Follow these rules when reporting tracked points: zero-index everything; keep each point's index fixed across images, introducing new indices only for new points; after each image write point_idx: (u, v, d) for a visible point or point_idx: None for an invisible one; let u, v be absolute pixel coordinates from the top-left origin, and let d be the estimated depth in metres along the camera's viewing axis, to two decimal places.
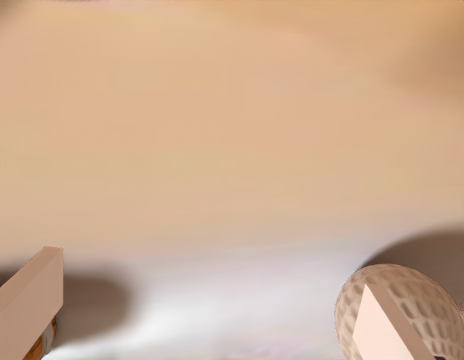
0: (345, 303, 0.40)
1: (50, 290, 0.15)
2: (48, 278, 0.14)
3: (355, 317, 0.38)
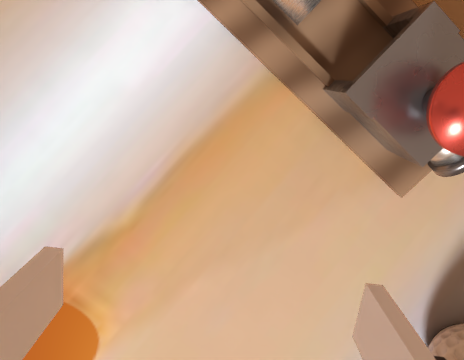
0: None
1: (50, 290, 0.15)
2: (48, 278, 0.14)
3: None
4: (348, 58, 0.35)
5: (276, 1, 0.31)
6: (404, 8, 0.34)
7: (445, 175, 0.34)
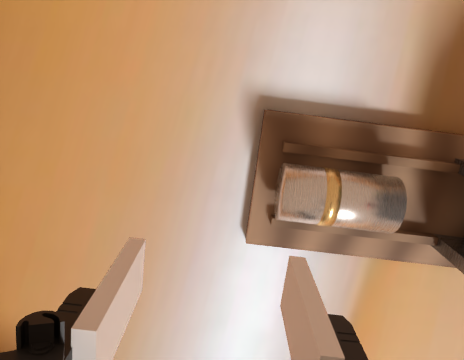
0: None
1: (138, 276, 0.17)
2: (138, 265, 0.16)
3: None
4: (437, 210, 0.36)
5: None
6: (462, 145, 0.34)
7: None
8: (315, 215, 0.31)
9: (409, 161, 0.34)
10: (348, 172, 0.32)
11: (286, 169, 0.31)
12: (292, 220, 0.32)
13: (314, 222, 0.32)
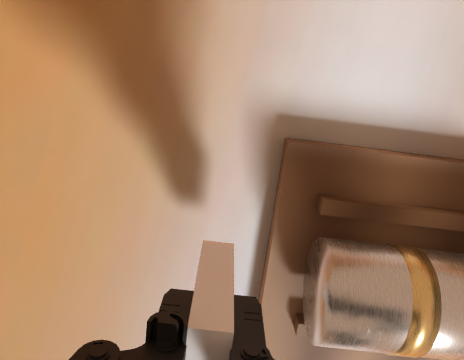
0: None
1: None
2: None
3: None
4: None
5: None
6: None
7: None
8: (388, 345, 0.16)
9: None
10: (444, 258, 0.17)
11: (332, 257, 0.16)
12: (341, 348, 0.17)
13: (382, 352, 0.17)
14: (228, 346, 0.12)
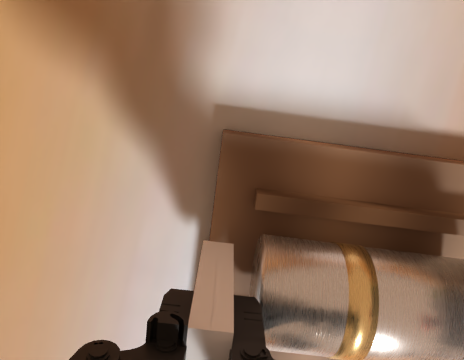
0: None
1: None
2: None
3: None
4: None
5: None
6: None
7: None
8: (324, 349, 0.15)
9: None
10: (388, 257, 0.16)
11: (267, 255, 0.16)
12: (278, 351, 0.16)
13: None
14: (228, 346, 0.12)
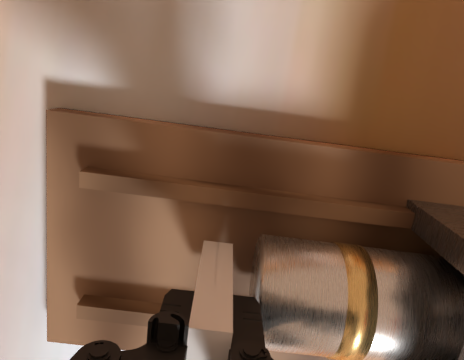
0: None
1: None
2: None
3: None
4: None
5: None
6: (420, 177, 0.18)
7: None
8: (323, 349, 0.15)
9: (318, 207, 0.18)
10: (387, 257, 0.16)
11: (266, 255, 0.15)
12: (278, 351, 0.16)
13: (321, 356, 0.16)
14: (227, 346, 0.12)
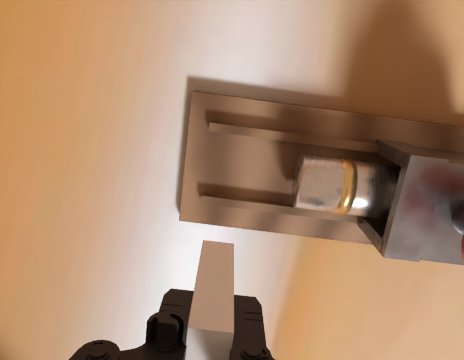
0: None
1: None
2: None
3: None
4: None
5: None
6: (382, 127, 0.36)
7: None
8: (332, 203, 0.32)
9: (329, 141, 0.35)
10: (363, 163, 0.33)
11: (304, 159, 0.33)
12: (309, 208, 0.33)
13: (330, 210, 0.33)
14: (228, 346, 0.12)
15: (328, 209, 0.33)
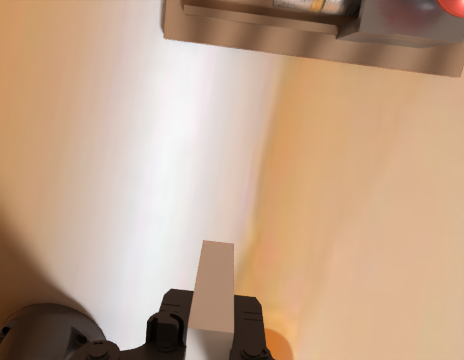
0: None
1: None
2: None
3: None
4: None
5: (349, 15, 0.36)
6: None
7: None
8: None
9: None
10: None
11: None
12: None
13: None
14: (228, 346, 0.12)
15: None
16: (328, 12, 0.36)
